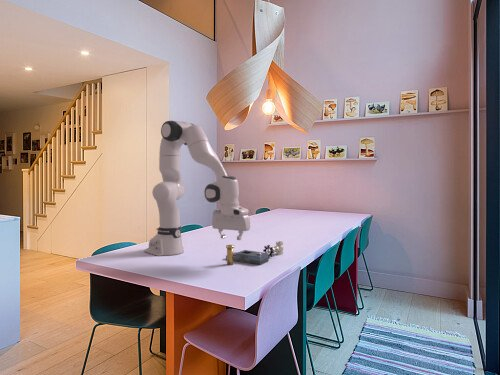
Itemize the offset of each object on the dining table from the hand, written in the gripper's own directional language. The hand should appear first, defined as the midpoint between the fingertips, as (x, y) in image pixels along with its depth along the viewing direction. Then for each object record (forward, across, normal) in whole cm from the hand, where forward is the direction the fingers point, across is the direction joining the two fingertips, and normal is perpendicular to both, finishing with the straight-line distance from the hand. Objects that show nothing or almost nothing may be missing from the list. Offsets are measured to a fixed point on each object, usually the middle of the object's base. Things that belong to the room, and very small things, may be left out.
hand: (231, 239), depth 161 cm
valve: (+13, +9, +26) cm, 31 cm away
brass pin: (+12, -1, 0) cm, 12 cm away
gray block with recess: (+12, +2, +10) cm, 16 cm away
